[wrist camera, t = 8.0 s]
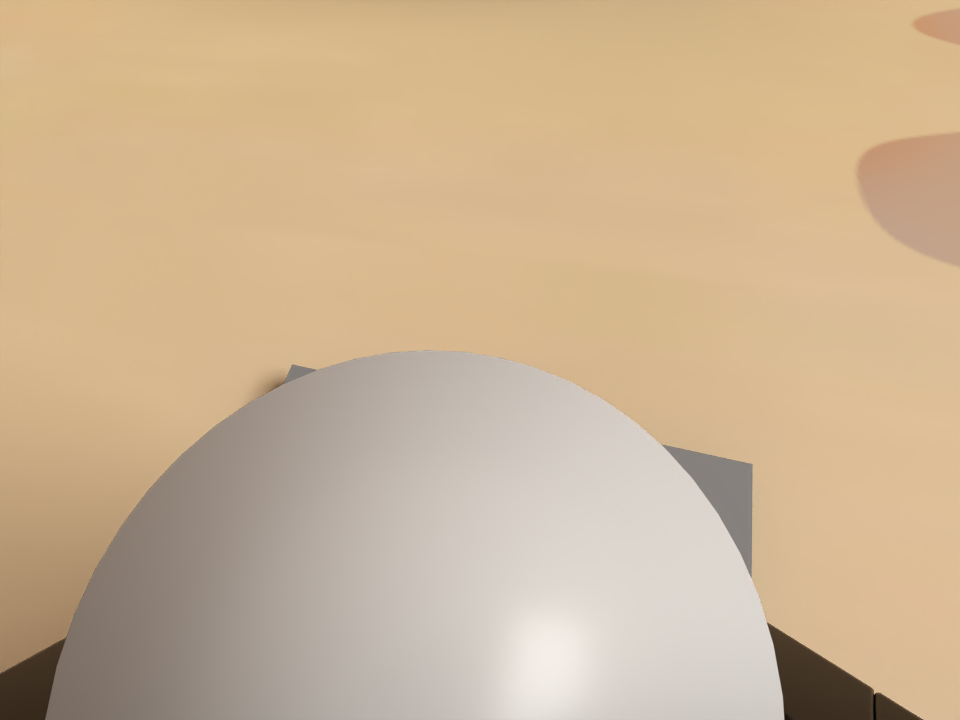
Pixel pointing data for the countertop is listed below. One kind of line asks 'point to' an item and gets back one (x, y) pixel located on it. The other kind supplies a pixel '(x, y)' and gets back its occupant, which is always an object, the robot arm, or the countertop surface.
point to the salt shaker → (421, 564)
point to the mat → (713, 475)
